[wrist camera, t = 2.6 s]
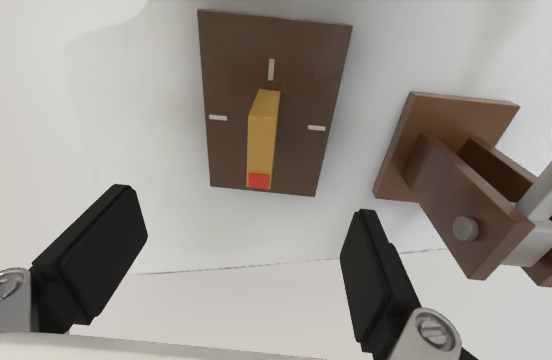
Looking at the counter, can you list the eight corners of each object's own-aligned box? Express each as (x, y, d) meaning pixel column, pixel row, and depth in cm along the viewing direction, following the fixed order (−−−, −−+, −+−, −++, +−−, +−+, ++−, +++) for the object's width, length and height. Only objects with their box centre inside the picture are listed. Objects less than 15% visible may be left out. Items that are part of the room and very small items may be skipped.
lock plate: (205, 9, 18) (195, 9, 16) (347, 24, 18) (353, 25, 16) (215, 175, 25) (209, 187, 24) (313, 185, 25) (315, 198, 24)
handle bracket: (410, 91, 20) (523, 169, 10) (510, 101, 20) (718, 190, 10) (371, 191, 26) (420, 303, 16) (449, 199, 26) (546, 316, 16)
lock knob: (258, 89, 18) (247, 116, 14) (280, 91, 18) (276, 119, 14) (256, 149, 21) (245, 189, 16) (274, 151, 21) (269, 192, 16)
